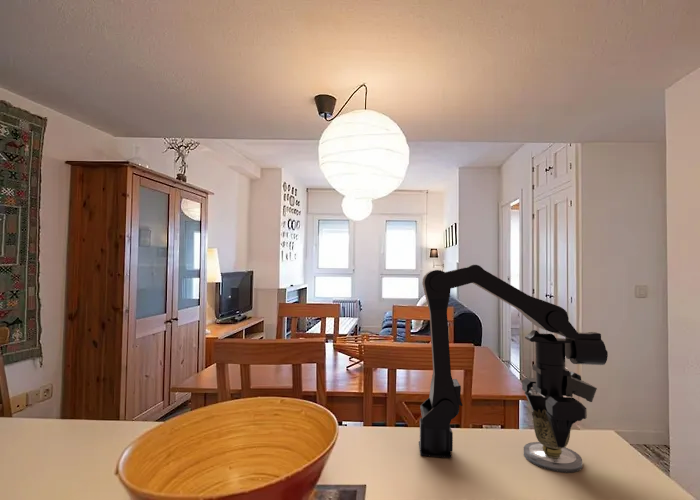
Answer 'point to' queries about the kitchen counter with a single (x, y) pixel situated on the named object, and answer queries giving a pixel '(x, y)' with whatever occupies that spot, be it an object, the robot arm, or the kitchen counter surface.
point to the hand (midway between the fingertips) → (551, 437)
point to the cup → (546, 434)
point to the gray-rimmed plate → (553, 458)
